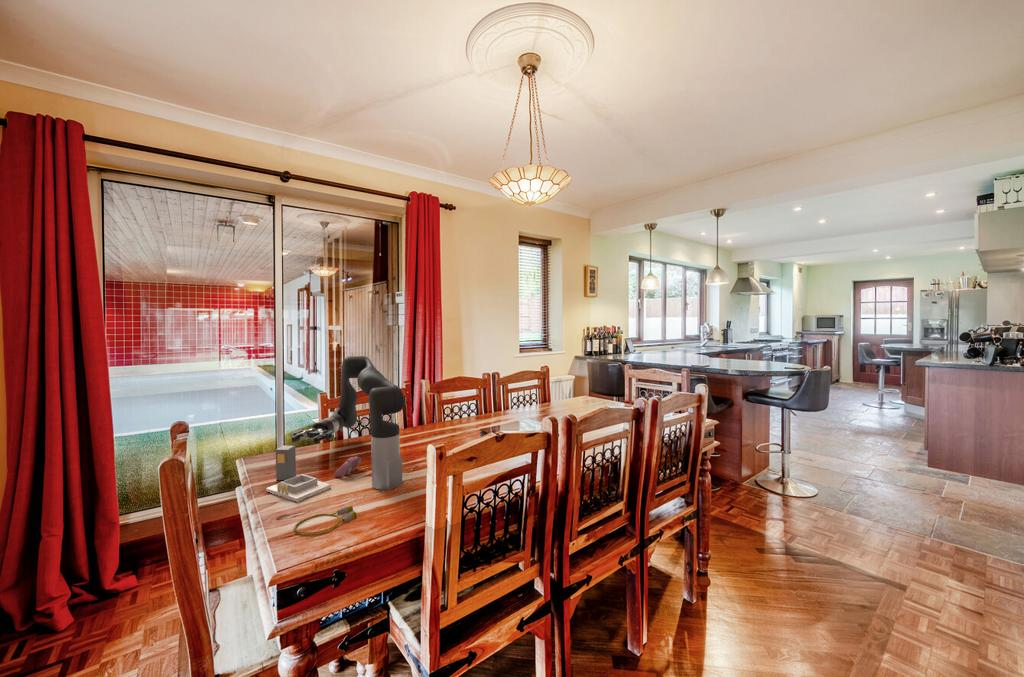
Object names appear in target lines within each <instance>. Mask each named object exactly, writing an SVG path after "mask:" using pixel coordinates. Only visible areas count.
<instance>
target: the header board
mask: <svg viewBox="0 0 1024 677" xmlns="http://www.w3.org/2000/svg"><path fill="white" fill-rule="evenodd" d="M331 487H332V485H331V484H330V483H327V482H324V481H320V480H318V478H317V477H314V476H310V475H307V474H303V473H301V474H298V475H296V476H295V477H293V478H290V479H287V480H284V481H278V483H276V484H274V485H271V486H268V487H266V488H265V492H266V491H267V492H266V493H268V492H270V493H269V494H271V493H272V495H274V494H275V495H274V496H277V495H278V496H277V497H280V496H282V497H281V498H283V497H285V498H284V499H286V498H288V499H287V500H289V499H290V500H289V501H291V500H293V501H292V502H294V501H296V502H295V503H298V501H299V502H301V501H303V500H302V499H304V500H306V499H308V498H310V496H311V497H313V496H315V495H318V494H320V493H322V491H323V492H325V491H327V490H329V488H330V489H331ZM317 493H318V494H317ZM314 494H315V495H314ZM312 495H313V496H312ZM307 497H308V498H307ZM305 498H306V499H305ZM300 500H301V501H300Z"/></svg>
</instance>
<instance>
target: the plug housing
mask: <svg viewBox="0 0 1024 677" xmlns="http://www.w3.org/2000/svg"><path fill="white" fill-rule="evenodd" d="M296 459H297V458H296V445H282V446H280V447H278V448H276V449H275V476H276V477H275V478H276V481H277V480H287V479H290V478H293V477H295V476H297V461H296Z"/></svg>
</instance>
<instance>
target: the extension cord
mask: <svg viewBox="0 0 1024 677" xmlns="http://www.w3.org/2000/svg"><path fill="white" fill-rule="evenodd" d="M336 514H337V515H336ZM344 514H346V515H345V516H344V517H343V518H341V521H340V518H339V515H344ZM320 516H332V517H336V518H337V523H336V524H334V525H332V526H330V527H329V528H327V529H324V530H322V531H321V530H320V531H313V532H311V531H309V532H307V531H300V530H297V529H298V527H299V526H300V525H301V524H303V523H304V522H306V521H309V520H312V519H313V518H317V517H320ZM357 516H358V515H357V512H356V511H354V507H353V505H350V506H344V507H342V508H340V509H338V510H337V511H336V512H333V513H319V514H315V515H311V516H309V517H306V518H304V519H302V520H299V521H298V522H297V523H296V524H295V525H294V527H293V531H294V533H295V534H297V535H299V536H319V535H324V534H327V533H330V532H332V531H333V530H335V529H336V528H337V527H338V526H339V525H340V524H342V523H346V522H349V521H351V520H353V519H355V517H357Z"/></svg>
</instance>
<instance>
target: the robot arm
mask: <svg viewBox="0 0 1024 677" xmlns="http://www.w3.org/2000/svg"><path fill="white" fill-rule="evenodd" d="M341 363H342V364H341V374H340V376H341V380H340V396H339V397H340V398H339V401H338V402H339V403H338V408H336V409H335V410H334V412H333V414H331V416H329V417H326V418H324V419H322V420H319V421H317V422H316V423H314V424H313V426H312V427H311V428H310V429H304V428H301V429H300V430H297V431H294V432H293V435H292V437H291V442H292V443H293V444H294V443H296V442H299V441H300V440H304V441H305V440H310V439H312V440H313V444H318V443H319V442H323V441H324V440H325V441H330V440H331V439H332V438H335V433H336V432H337V433H338V431H340V430H341V429H343V428H346V429H351V428H352V427H354V426H355V425H356V422H357V420H358V414H357V408H356V405H357V401H358V394H357V391H356V389H355V387H354V386H353V385H352V383H351V381H350V379H356V380H357V381H356V383H357V386H358V387H359V389H360V390H361V391H362V393H364V394H365V395H366V396H368V407H369V420H370V421H369V422H370V424H369V425H370V447H371V448H370V451H371V452H370V454H371V455H370V457H371V458H370V459H371V461H370V462H371V487H372V488H373V489H376V490H389V491H390V490H393V489H394V488H396V487H399V486H401V485H402V484H403V482H404V481H403V456H402V455H401V452H400V450H401V449H400V444H401V443H400V442H401V441H400V438H401V437H400V436H401V435H400V425H399V424H397V423H396V422H391V421H387V420H384V419H383V416H384V415H385V416H386V415H393V414H398V413H399V412H401V411H402V410H403V409H404V407H405V404H406V402H405V400H406V399H405V395H404V393H403V390H401V389H402V388H400V387H399V386H398V385H396V384H394V383H392V382H391V381H390V380H388V378H386V377H385V376H384V374H382V372H380V371H379V370H378V369H377V368H376V367H375V366H374V364H373V363H372V361H371V360H370V358H369V357H368V356H365V355H356V356H355V355H350V356H345V357H344V358H343V360H342V362H341Z"/></svg>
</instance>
